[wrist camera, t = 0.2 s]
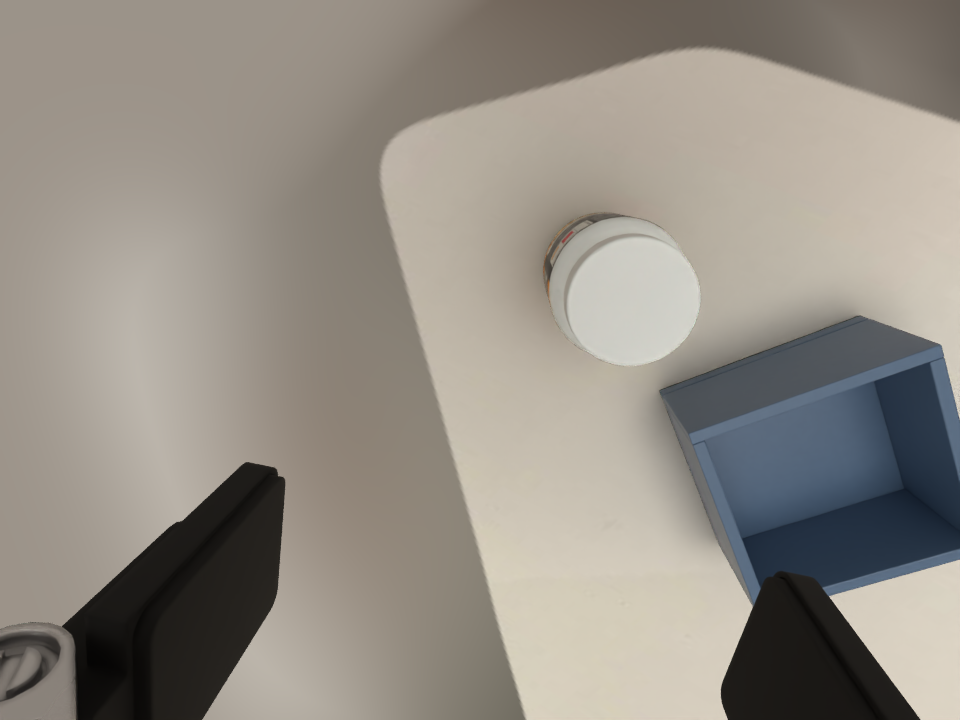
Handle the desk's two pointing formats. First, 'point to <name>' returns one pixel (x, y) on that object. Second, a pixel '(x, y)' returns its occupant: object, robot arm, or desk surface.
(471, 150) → the desk surface
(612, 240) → the pill bottle
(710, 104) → the desk surface
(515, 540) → the desk surface
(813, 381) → the bin
